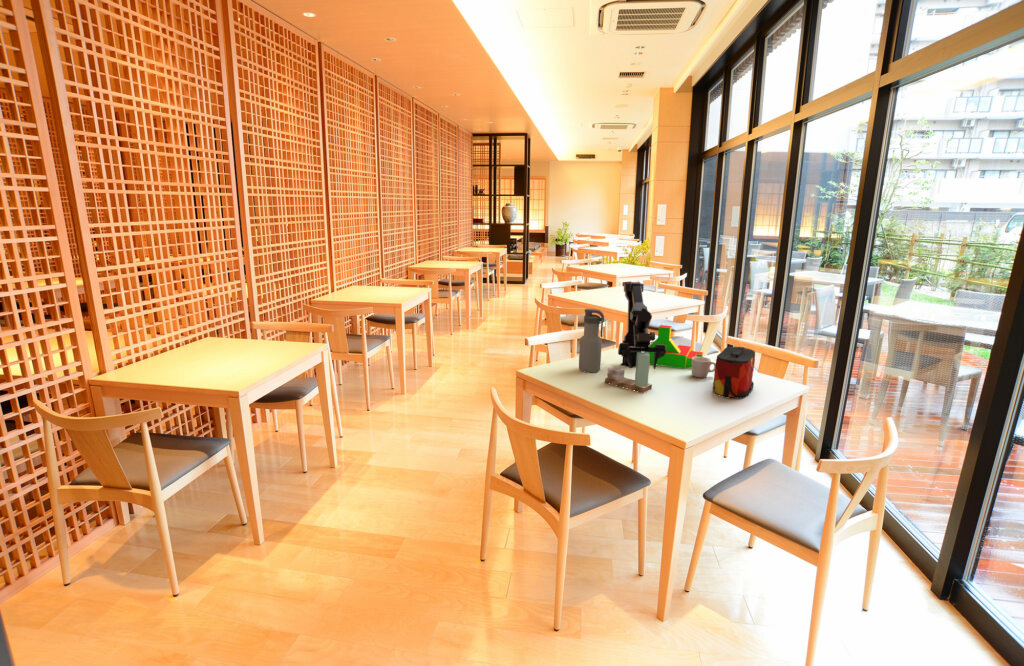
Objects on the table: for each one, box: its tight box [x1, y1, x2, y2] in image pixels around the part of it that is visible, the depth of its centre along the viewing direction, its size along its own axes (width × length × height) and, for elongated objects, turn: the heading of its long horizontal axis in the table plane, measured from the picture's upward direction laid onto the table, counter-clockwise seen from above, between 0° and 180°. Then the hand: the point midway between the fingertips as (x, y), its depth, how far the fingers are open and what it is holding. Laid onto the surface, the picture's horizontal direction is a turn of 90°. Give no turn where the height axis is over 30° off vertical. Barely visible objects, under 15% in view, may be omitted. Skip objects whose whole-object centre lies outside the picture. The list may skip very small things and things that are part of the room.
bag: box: [712, 346, 756, 399], centre depth 216 cm, size 30×14×16 cm, turn 146°
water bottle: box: [578, 308, 605, 373], centre depth 237 cm, size 10×10×28 cm
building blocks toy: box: [648, 324, 704, 369], centre depth 254 cm, size 19×25×18 cm
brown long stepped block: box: [604, 366, 653, 394], centre depth 219 cm, size 18×7×6 cm, turn 48°
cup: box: [691, 356, 716, 379], centre depth 233 cm, size 11×8×8 cm
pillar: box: [634, 352, 650, 387], centre depth 213 cm, size 4×4×13 cm
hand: (642, 367), depth 212 cm, fingers open, 9 cm apart
